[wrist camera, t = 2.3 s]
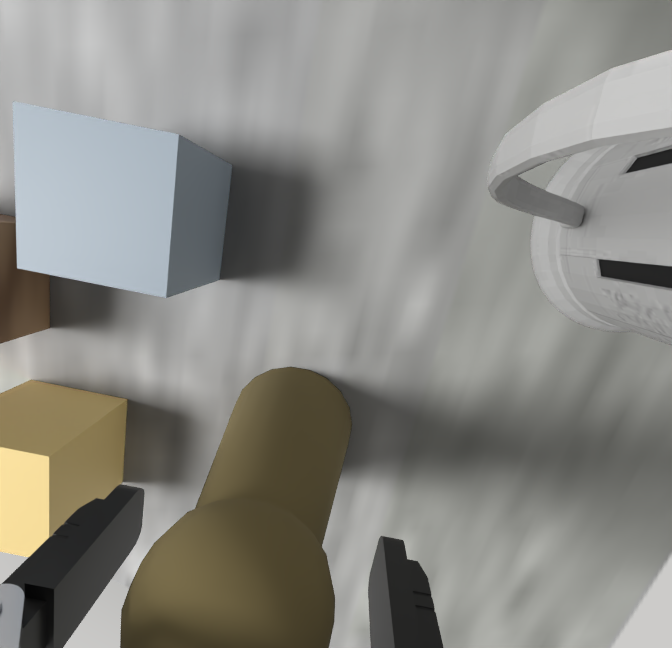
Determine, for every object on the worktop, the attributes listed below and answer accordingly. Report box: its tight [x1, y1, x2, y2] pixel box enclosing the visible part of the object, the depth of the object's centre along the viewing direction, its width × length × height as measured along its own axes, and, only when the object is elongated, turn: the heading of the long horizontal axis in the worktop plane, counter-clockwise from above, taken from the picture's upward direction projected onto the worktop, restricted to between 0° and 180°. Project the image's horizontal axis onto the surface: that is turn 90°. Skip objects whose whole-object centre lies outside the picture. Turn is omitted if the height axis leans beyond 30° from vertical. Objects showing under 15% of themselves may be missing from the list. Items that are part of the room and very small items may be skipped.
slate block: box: [13, 101, 232, 298], centre depth 14 cm, size 5×5×5 cm
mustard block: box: [0, 380, 127, 557], centre depth 17 cm, size 5×5×5 cm
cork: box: [120, 367, 352, 648], centre depth 13 cm, size 6×6×11 cm
